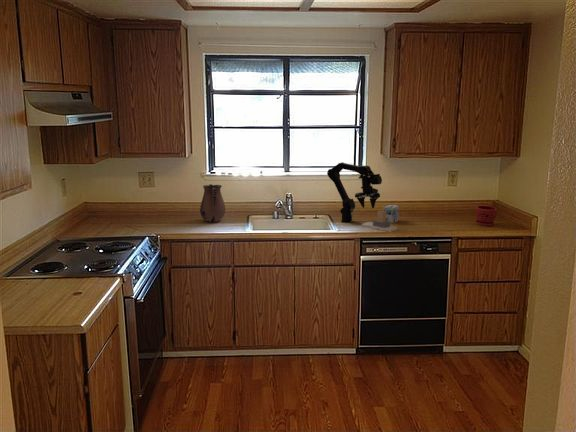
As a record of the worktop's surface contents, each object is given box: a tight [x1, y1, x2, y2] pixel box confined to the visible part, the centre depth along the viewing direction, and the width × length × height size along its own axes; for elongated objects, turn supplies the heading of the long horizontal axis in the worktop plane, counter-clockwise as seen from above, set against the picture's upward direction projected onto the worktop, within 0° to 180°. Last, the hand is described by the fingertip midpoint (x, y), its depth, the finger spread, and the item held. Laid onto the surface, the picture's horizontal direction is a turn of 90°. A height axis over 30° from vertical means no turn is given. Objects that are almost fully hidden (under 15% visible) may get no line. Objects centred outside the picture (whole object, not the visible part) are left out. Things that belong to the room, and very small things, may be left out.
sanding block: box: [372, 209, 391, 228], centre depth 324 cm, size 9×6×10 cm, turn 46°
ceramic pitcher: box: [199, 183, 226, 223], centre depth 344 cm, size 18×21×25 cm
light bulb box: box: [383, 204, 400, 224], centre depth 343 cm, size 11×7×11 cm, turn 143°
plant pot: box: [475, 205, 498, 227], centre depth 333 cm, size 13×13×12 cm
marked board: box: [361, 221, 398, 233], centre depth 326 cm, size 22×8×2 cm, turn 46°
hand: (368, 208), depth 333 cm, fingers open, 9 cm apart
